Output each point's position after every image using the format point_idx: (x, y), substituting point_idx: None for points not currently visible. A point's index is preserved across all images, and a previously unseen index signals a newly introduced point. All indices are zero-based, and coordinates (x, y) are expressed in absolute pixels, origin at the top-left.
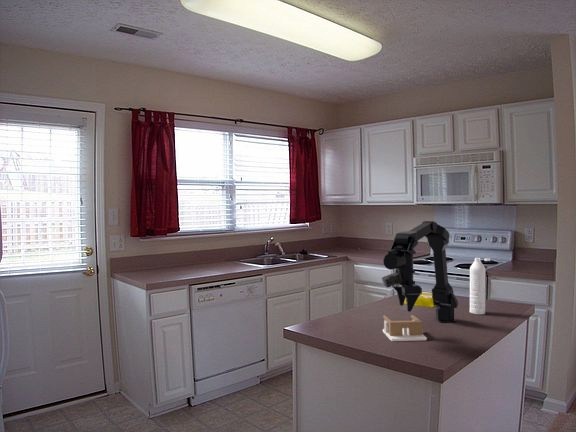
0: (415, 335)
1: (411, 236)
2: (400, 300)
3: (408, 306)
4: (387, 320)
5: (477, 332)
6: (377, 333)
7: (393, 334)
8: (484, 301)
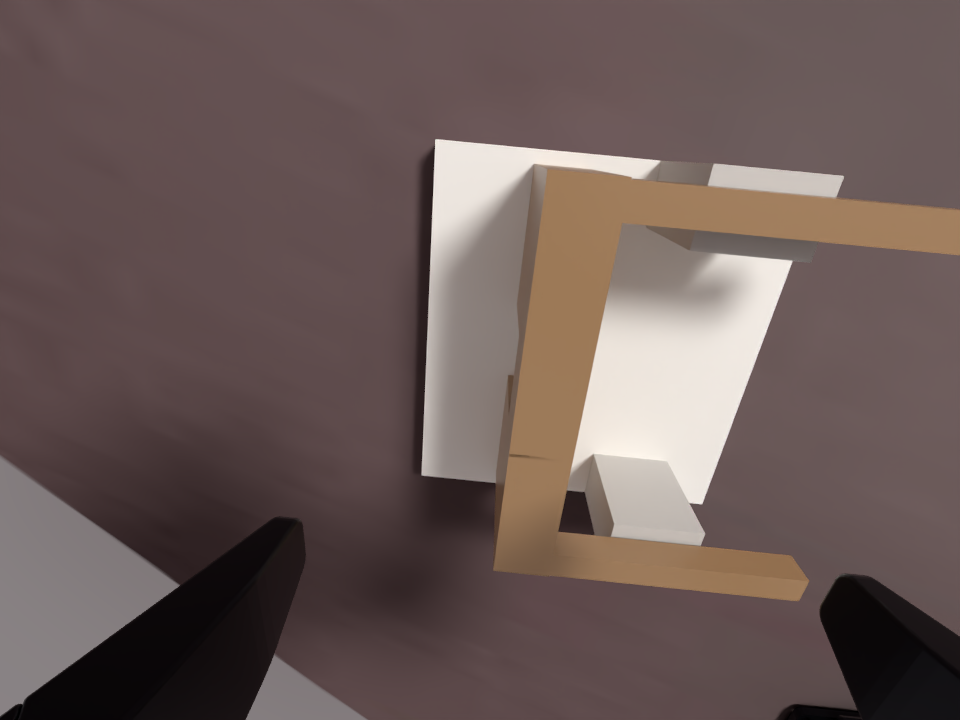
0: (492, 418)
1: None
2: (945, 703)
3: (162, 618)
4: (720, 187)
5: None
6: (762, 72)
7: (530, 205)
8: None
